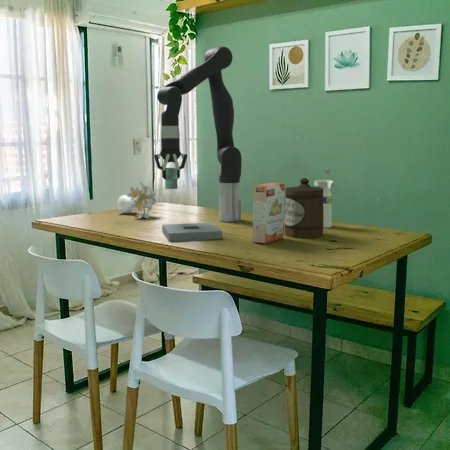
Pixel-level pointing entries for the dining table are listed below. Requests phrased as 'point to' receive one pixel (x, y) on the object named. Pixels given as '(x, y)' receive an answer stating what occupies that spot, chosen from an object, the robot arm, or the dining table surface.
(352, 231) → the dining table surface
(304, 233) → the wooden container
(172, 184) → the teal block
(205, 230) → the pocket plate
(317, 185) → the white spray bottle
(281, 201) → the cracker box
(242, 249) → the dining table surface
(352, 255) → the dining table surface
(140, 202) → the flower vase
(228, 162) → the robot arm
